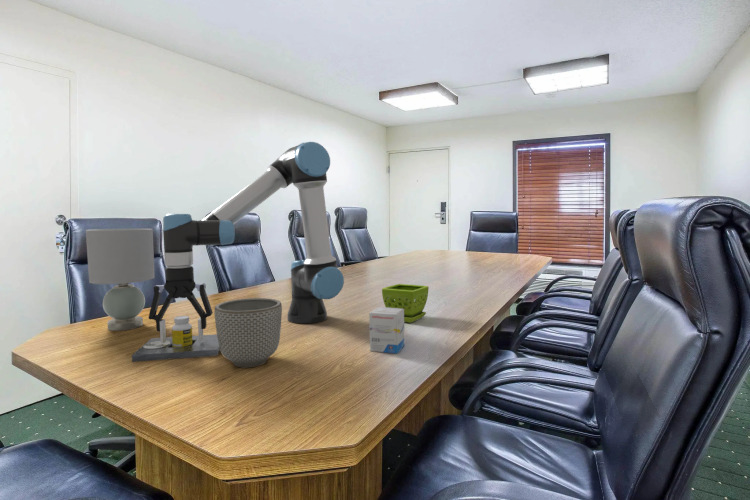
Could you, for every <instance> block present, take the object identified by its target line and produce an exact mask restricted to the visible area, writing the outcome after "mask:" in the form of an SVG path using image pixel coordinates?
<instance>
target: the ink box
mask: <svg viewBox="0 0 750 500" xmlns="http://www.w3.org/2000/svg"><path fill="white" fill-rule="evenodd" d="M368 315H369V316H368V317H369V318H368V320H369V351H370V352H379V353H388V354H396V355H398V354H399V352H400V351H401V350H403V348H404V346H405V322H404V309H400V308H388V307H385V306H378V307H376V308H374V309H373V310H372V311H370V312H369V313H368Z"/></svg>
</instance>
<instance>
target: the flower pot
mask: <svg viewBox="0 0 750 500" xmlns="http://www.w3.org/2000/svg"><path fill="white" fill-rule="evenodd" d="M429 289H430V288H429V286H428V285H419V284H407V283H397V284H393V285H390V286H385V287H382V289H381V294H382V300H383V303H384V307H388V308H400V309H404V323H408V324H409V323H413V322H416V321H418V320H420V319H422V318H424V316H425V315H426V314H427V312H426V311H424V309H425V307H426V304H427V301H428V296H429Z"/></svg>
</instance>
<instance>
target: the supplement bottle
mask: <svg viewBox="0 0 750 500" xmlns="http://www.w3.org/2000/svg"><path fill="white" fill-rule="evenodd" d="M173 321H174V324H173V325H172V327H171V337H172V348H173V347H188V346H192V336H193V326H192V324H191V323H189V322H190V316H188V315H179V316H175V317H174V318H173Z"/></svg>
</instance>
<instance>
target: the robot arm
mask: <svg viewBox="0 0 750 500" xmlns="http://www.w3.org/2000/svg"><path fill="white" fill-rule="evenodd" d="M330 167H331V157H330V154H329V152H328V150H327V149H326V148H325V147H324V145H322V144H320V143H319V142H315V141H307V142H302V143H299V144H298V145H296V146H293V147H290V148H288V149H287V150H286V151H284V152H283V153H282V154H281V155H280V156H279V157H278V158H277V159H276V160H275V161H273V162H272V163H271V164H270V165H268V166H267V171H265V172H264V173H262V174H261V175H260V176H258V177H257V178H255V180H253V181H252V182H250V183H249V184H248V185H246V186H245V187H244V188H242V189H241V190H240V191H238V192H237V193H236V194H234V195H233V196H232V197H231V198H229V199H228V200H227V201H225V202H224V203H223V204H220V206H218V207H217V208H215V209H214V210H213V211H211V213H209V214H208V215H206V216H205V217H204V218H202V219H201V220H194V219H193V218H192V215H191V214H189V213H167V214H164V216H163V220H162V224H163V225H162V227H163V228H162V231H163V232H162V233H163V249H164V251H163V252H164V256H163V257H164V266H166V267H165V269H164V275H165V283H164V284H162V285H161V284H156V285H154V286H153V298H152V302H151V306H150V310H149V313H148V320H154V321H155V327H156V329H155V330H156V332H159V333H160V334H159V335H160V337H159V338H160V340H161V343H164V342H165V341H166V337H167V329H166V319H165V318H164V316H165V314H166V311H168V308H169V306H170V305H171V303H172V301H173V300H174V299H179V298H180V299H187V301H189V302H190V304H191V305H192V307H193V308H194V310H195V311H196V313H197V314H198V316H199V318H198V319H197V328H198V331H197V332H198V333H197V334H198V335H199V341H202V339H203V335H204V330H205V329H206V328H207V317H208V318H209V317H211V316H212V315H213V309H212V306H211V303H210V301H209V297H208V294H207V292H206V285H207V284H206V283H196V281H195V276H194V275H195V274H194V267H193V266H192V265H193V264H194V252H193V247H194V246H224V245H231V244H233V243H234V241H235V238H236V237H235V236H236V231H235V230H236V229H235V224H236V223H238V222H239V221H240V220H242V219H243V218H244V217H245V216H247V215H248V214H249V213H251V212H252V211H253V210H254V209H255V208H257V207H258V206H259V205H261V204H262V203H263V202H265V201H266V200H268V198H270V197H271V196H272V195H273V194H275V193H276V192H278V191H279V190H280V189H281V188H283V189H287V187H289V186H290V185H293V187H295V188H296V189H297V190H298V194H299V195H298V196H299V204H300V213H301V218H302V229H303V235H304V237H303V238H304V243H305V244H304V245H305V252H306V258H305V259H302V260H294V261H292V262H291V267H290V278H291V282H290V283H291V302H290V306H289V308H288V311H287V322H290V323H294V324H296V323H297V324H313V323H314V324H315V323H319V322H323V321H325V320H327V319H328V311H327V308H326V306H325V303H324V302H325V301H324V300H331V299H333V298H335V297H337V296H338V295H339V294H340V293H341V291H342V290H343V287H344V284H345V280H344V279H345V278H344V275H343V273H342V271H341V270H340V268H338V265H337V258H336V257H335V256H333V254H332V250H331V242H330V233H329V224H328V215H327V207H326V199H325V191H324V190H325V189H324V186H325V185H326V184H327V183H328V179H327V178H328V177H327V172H328V170H329V169H330ZM195 289H196V290H197V292H199V296H200V299H201V301H202V305H203V307H204V309H203V307H202V306H201V304H200V302H199V301H198V300H197V298H196V295H195V294H194V292H193V291H194V290H195ZM164 290H165V292H167V294H168V295H167V296H166V298H165V300H164V302H163V304H162V306H161V308H160V310H159V312H158V313H157V311H158V308H159V304H160V301H161V296H162V292H163V293H164Z"/></svg>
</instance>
